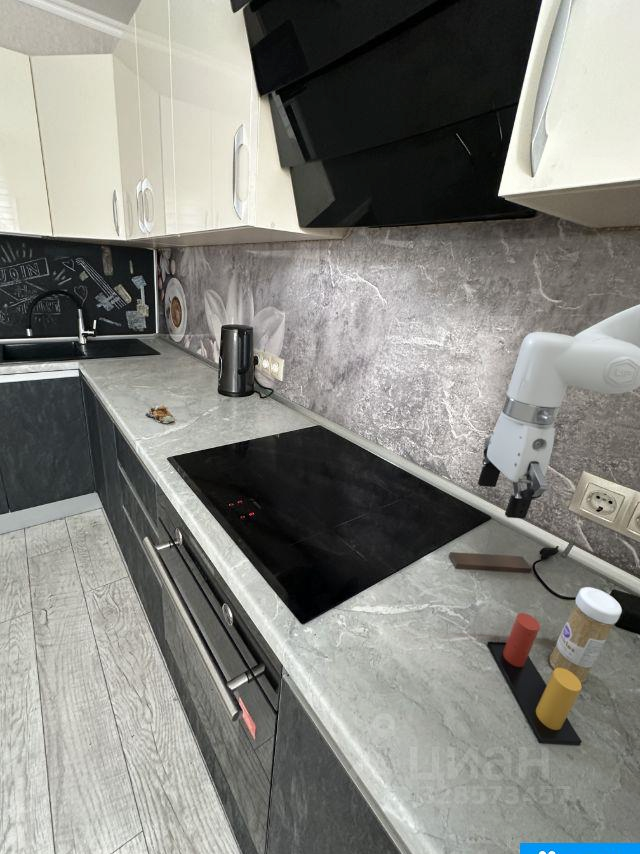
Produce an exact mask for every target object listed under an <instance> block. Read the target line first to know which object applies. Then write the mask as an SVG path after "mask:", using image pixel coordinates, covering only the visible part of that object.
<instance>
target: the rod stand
mask: <svg viewBox="0 0 640 854" xmlns="http://www.w3.org/2000/svg"><path fill="white" fill-rule="evenodd" d="M540 629H541V625H540V623H539V621H538V620H537V619H536V618H535V617H533V616H532V615H530V614H528V613H524V612H519V613H518V614H516V616H515V620H514V622H513V624H512V627H511V630H510V632H509V635H508V638H507V640H506V642H504V641H488V642H487V644H486V646H487V648H488V650H489V651H490V653H491V655H492V657H493V659H494V661H495V663H496V665H497V666H498V669H499V671H500V672H501V675H502V676H503V678H504V680H505V682H506V684H507V685H508V687H509V689H510V691H511V693H512V695H513V696H514V699H515V701H516V702H517V703H518V706H519V709H520V710H521V712H522V713H523V715H524V717H525V720H526V721H527V723H528V725H529V727H530V729H531V731H532V732H533V735H534V736H535V738H536V740H537V742H538V743H539V744H547V745H563V746H581V744H582V740H581V738H580V736H579V735H578V733H577V732H576V730H575V728H574V727H573V725H572V723H571V721H570V720H569V719H568V716H569V714H570V712H571V709H572V708H573V706H574V704H575V702H576V700H577V698H578V696H579V694H580V693H581V691H582V687H583V685H582V683H581V682H580V680H579V679H578V678H577V677H576V676H575V675H574V674H573V673H572V672H570V671H568V670H566V669H564V668H556V669H555V670H554V669H553V672H552V673H551V676H550V678H549V680H548V681H547V683H546V682H545V680H544V679H543V676H542V675H541V673H540V672H539V670H538V669H537V667H536V666H535V664H534V662H533V661H532V659H531V658H530V656H529V655H530V652H531V650H532V648H533V645H534V643H535V641H536V638H537V636H538V633H539V631H540Z"/></svg>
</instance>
